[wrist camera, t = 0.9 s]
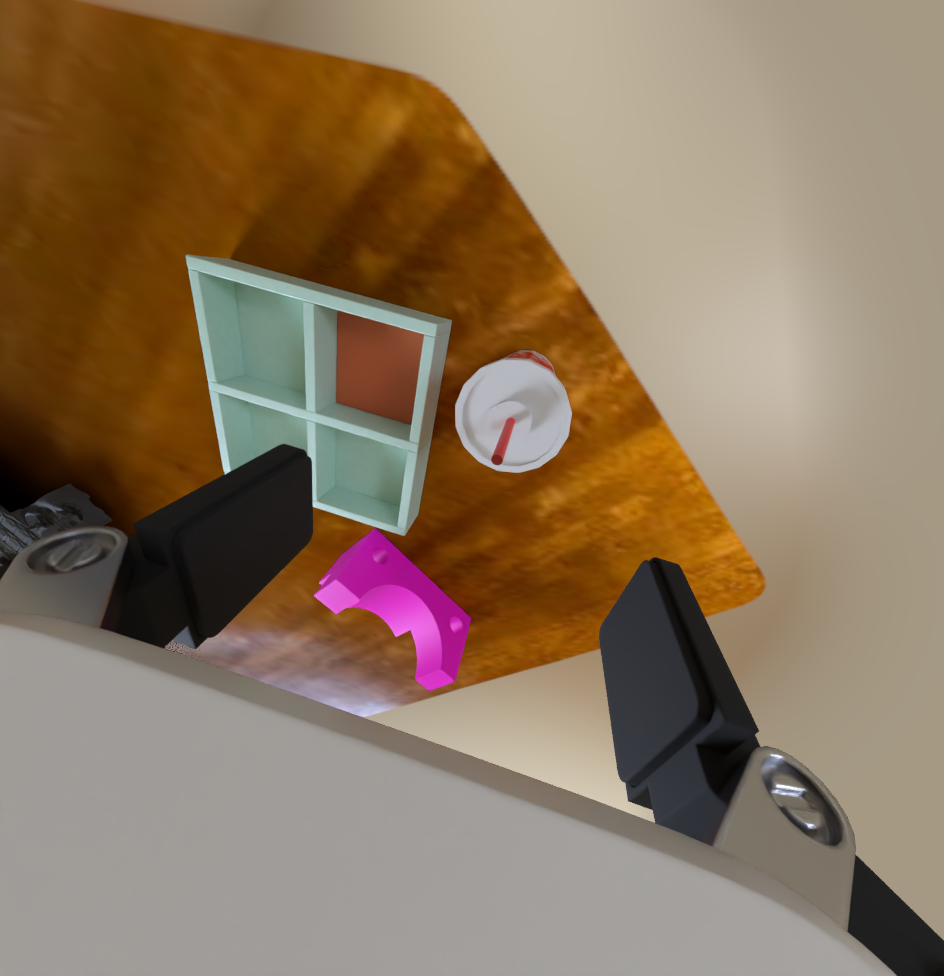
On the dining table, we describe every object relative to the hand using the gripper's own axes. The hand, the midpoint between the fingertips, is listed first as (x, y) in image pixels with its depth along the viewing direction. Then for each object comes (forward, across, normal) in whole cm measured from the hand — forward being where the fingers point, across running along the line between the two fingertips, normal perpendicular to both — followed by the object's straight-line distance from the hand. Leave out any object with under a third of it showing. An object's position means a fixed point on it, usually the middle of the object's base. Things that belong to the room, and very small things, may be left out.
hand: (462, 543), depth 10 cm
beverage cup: (+19, 0, -1) cm, 19 cm away
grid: (+19, +15, +5) cm, 25 cm away
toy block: (+20, +6, +24) cm, 32 cm away
